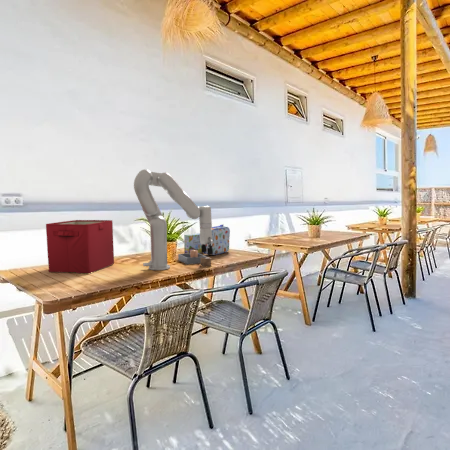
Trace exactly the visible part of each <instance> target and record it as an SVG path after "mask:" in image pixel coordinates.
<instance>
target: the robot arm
mask: <svg viewBox="0 0 450 450" xmlns="http://www.w3.org/2000/svg"><path fill="white" fill-rule="evenodd" d="M150 186H153V187H160V188H163V191H165V192H166V193H167V194H168V196H169V197H170V198H171V199H172V200H173V201H174V202H175V203H176V204H178V205H179V206H180V208H182V210H183V211H184V212H185V214H186V216H187V217H188V218H189V219H192V220H196V219H198V218H199V219H198V220H199V221H198V222H199V233H200V243H201V248H202V252H207V251H208V254H207V255H209V254H213V241H212V231H211V228H212V227H213V225H212V224H213V223H212V222H213V221H212V220H213V219H212V207H211V206H209V205H202V206H198V205H196V204H195V202H194V201H193V200H192V198H191V197H190V196H189V195H188V194H187V193H186V191H185V190H184V189H183V188H182V187H181V186H180V184H179V183H178V182H177V181H176V180H175V179H174V177H173V176H172V175H171V174H170V173H168V172H166V171H165V172H156V171H151V170H149V169H146V168H145V169H141V170H140V171H139V172H138V173H137V174H136V176H135V178H134V181H133V190H134V194H135V196H136V197H137V199H138V202H139V204H140V206H141V209H142V212H143V213H144V214H143V215H144V216H145V217H146V219H147V222H148V224H149V228H150V229H149V230H150V260H149V262H143V263H142V264H143V267H148V270H152V271H164V270H168V269H170V268H171V265H169V264H168V242H167V240H168V238H167V237H168V235H167V234H168V233H167V231H168V229H167V228H168V224H167V220H166V219H165V218H164V216H163V214H162V212H161V210H160V209H161V208H159V204H158V203H157V201H156V200H155V197H154V196H153V194H152V191H151V188H150ZM206 244H207V246H208V248H207V249H206ZM209 256H210V255H209Z"/></svg>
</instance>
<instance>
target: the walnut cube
mask: <svg viewBox="0 0 450 450" xmlns="http://www.w3.org/2000/svg"><path fill="white" fill-rule="evenodd" d="M200 266H201V267H203V268H205V267H206V266H207V267H212V258H211V257H209V256H206V257H203V258H201V263H200Z"/></svg>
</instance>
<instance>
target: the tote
mask: <svg viewBox="0 0 450 450" xmlns="http://www.w3.org/2000/svg"><path fill="white" fill-rule="evenodd" d="M177 254H178V256H177V257H178V261H179V262H181V263H184V264H185V265H195V264H201V258H203V257H207V256H206V255H205V254H202V253H198V257H191V258H190V253H185V254H184V253H177Z"/></svg>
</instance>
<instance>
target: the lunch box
mask: <svg viewBox="0 0 450 450" xmlns="http://www.w3.org/2000/svg"><path fill="white" fill-rule="evenodd" d="M211 231H212V241H213V254H209V256H215V255H216V256H217V255H220V254H224V253H228V252H229V250H230V238H231V237H230V236H231V234H230V232H231V230H230V227H228V226H224V224H219V225H217V226H212V228H211ZM207 248H208V246H207V244H206V249H207ZM203 255H208V251H207V252H203Z"/></svg>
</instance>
